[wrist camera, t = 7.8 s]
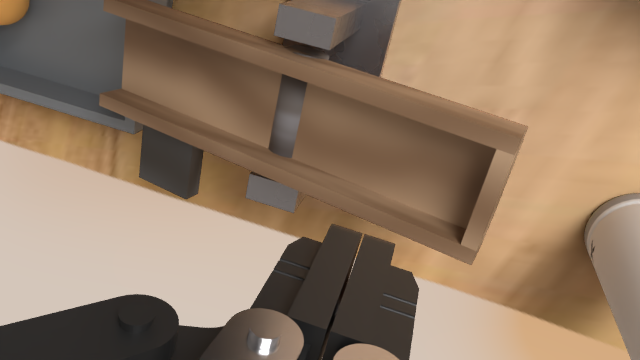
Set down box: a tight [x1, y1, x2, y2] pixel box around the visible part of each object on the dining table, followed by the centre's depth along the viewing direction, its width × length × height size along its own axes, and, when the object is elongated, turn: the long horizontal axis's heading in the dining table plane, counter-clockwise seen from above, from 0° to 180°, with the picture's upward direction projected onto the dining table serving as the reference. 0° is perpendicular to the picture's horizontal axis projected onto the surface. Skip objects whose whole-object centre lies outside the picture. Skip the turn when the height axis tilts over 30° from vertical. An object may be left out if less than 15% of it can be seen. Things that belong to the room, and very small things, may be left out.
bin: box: [0, 0, 173, 134], centre depth 40 cm, size 14×16×4 cm
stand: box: [246, 0, 401, 213], centre depth 34 cm, size 13×7×10 cm, turn 168°
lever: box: [99, 0, 528, 265], centre depth 32 cm, size 11×24×5 cm, turn 78°
